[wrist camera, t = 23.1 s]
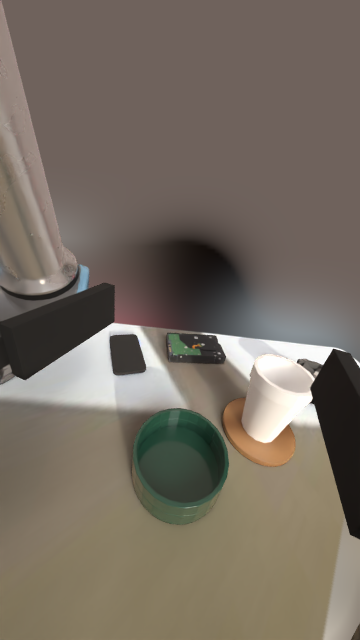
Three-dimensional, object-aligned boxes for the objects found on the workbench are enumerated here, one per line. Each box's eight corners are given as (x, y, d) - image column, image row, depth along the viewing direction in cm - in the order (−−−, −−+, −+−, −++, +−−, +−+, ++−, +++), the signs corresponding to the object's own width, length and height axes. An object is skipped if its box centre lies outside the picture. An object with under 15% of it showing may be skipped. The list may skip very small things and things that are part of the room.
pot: (133, 427, 36) (134, 409, 34) (207, 423, 39) (212, 406, 37) (129, 532, 25) (131, 515, 22) (235, 516, 27) (244, 499, 25)
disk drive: (213, 342, 64) (165, 339, 61) (215, 335, 63) (166, 331, 60) (224, 365, 55) (168, 363, 52) (227, 356, 54) (170, 354, 51)
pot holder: (213, 401, 44) (214, 398, 43) (268, 400, 46) (270, 397, 46) (238, 470, 32) (240, 466, 32) (309, 462, 35) (312, 459, 35)
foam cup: (267, 404, 44) (291, 354, 38) (296, 448, 36) (332, 394, 30) (225, 406, 42) (244, 354, 36) (247, 454, 34) (275, 397, 28)
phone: (113, 373, 45) (109, 335, 57) (113, 376, 46) (109, 338, 58) (147, 369, 48) (136, 333, 60) (147, 372, 48) (136, 336, 60)
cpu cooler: (353, 396, 43) (300, 380, 45) (339, 415, 46) (290, 398, 48) (337, 367, 52) (293, 354, 54) (326, 384, 54) (285, 371, 57)
